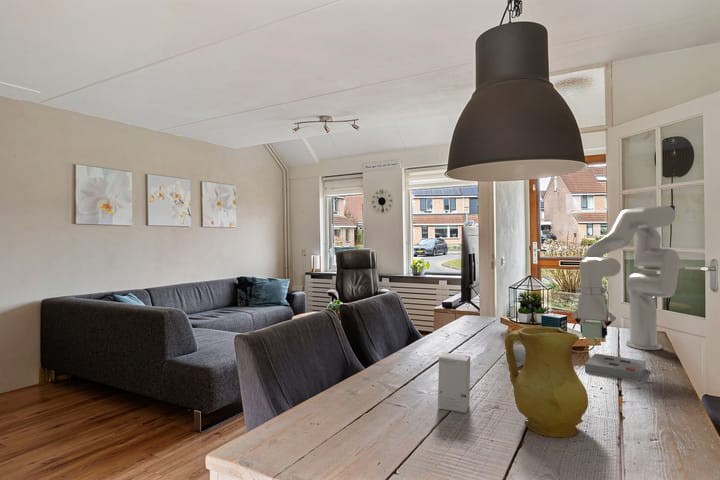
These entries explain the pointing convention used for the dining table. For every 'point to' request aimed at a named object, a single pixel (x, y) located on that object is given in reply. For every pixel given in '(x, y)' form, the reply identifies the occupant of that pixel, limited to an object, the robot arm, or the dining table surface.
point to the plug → (592, 331)
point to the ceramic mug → (519, 354)
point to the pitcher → (547, 381)
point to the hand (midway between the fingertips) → (593, 335)
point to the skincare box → (454, 382)
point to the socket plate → (616, 367)
